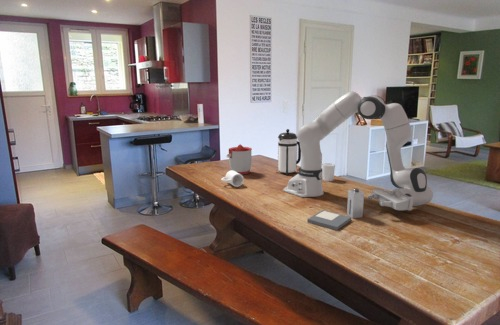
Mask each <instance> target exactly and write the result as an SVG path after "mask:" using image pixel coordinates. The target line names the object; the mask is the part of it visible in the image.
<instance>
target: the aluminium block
mask: <svg viewBox="0 0 500 325" xmlns="http://www.w3.org/2000/svg"><path fill="white" fill-rule="evenodd" d="M364 198H365V191H363V190H361V189H360V188H353V189H352V188H351V189H348V190H347V206H346V208H347V209H346V216H349V217H351V219H359V218H363V216H364V214H363V213H364V202H365V200H364Z"/></svg>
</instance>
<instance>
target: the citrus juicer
mask: <svg viewBox="0 0 500 325" xmlns="http://www.w3.org/2000/svg"><path fill="white" fill-rule="evenodd" d="M252 149H253V148H252V147H248V146H243V145H242V144H241V143H239V144H238V145H237V146H233V147H229V148H228V154H227V155H226V158H227V159H229V160H228V161H229V162H228V164H229V167H230V171H231V170H234V171H236V172H237V173H239V174H241V175H242V176H244V175H248V174H249V173H250V171H251V167H252V163H253V162H252V158H253V157H252V156H253V155H252Z"/></svg>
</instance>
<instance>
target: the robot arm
mask: <svg viewBox="0 0 500 325" xmlns="http://www.w3.org/2000/svg"><path fill="white" fill-rule="evenodd" d="M357 113H358V115H359V116H360V117H361V118H363V119H365V120H380V121H381V122H382V125H383V128H384V131H385V136H386V145H385V147H386V154H387V157H388V164H389V168H390V178H389V179H390V182H391V184H392V185H393V186H394V189H392V191H390V190H387V189H384V188H383V189H379V188H378V189H376V188H375V189H372V190H371V194H368V195H367V199H368V200H373V199H375V200H377V201H378V202H379V206H381V207H390V208H391V209H394V210H396V211H413V207H414V206H415V207H416V206H422V205H427V204H429V203H431V201H433V199H434V191H433V188H431V187H430V185H429V184H428V177H427V173H426V171H424V169H422V168H421V167H409V168H405V166H404V163H403V160H402V152H401V150H402V148H403V146H404V145H405V144H406V143H408V142H409V141H410V139H411V137H412V127H411V124H410V121H409V118H408V115H407V113H406V111H405V109H404V108H403V105H402V104H400V103H397V102H392V103H387V104H386V102H385V100H384V99H383V98H382V96H379V95H373V94H371V95H367V96H363V97H362V96H360V95H359V93H357V92H356V91H348V92H346V93H344V94H343V95H341V96H340V97H338V98H337V99H336V100H334V101H333V102H331V104H330V105H329V106H327V107H326V108H325V109H324V110H323V111H321V112H320V114H319V115H318V116H317V117H316V118H315V119H314V120H312V121H310V122H309V123H306V124H304V125H302V126H301V127H300V128H299V130H298V131H297V134H296V136H297V141H298V142H300V148H301V159H300V165H301V166H300V167H298V168H297V170H296V172H297V173H296V174H295V175H294V176H293V177H291V178H290V179H289V180H288V182H287V186H285V187H283V192H284V193H288V194H291V195H295V196H297V197H300V198H307V197H311V198H315V197H321V196H323V195H324V194H325V193H324V189H323V182H322V181H323V180H322V164H323V163H322V162H323V154H322V150H321V144H320V143H321V141H322V140H324V139H325V138H326V137H327V136H328V135H330V134H331V132H333V131H334V130H335V129H336V128H338V127H339V126H340V125H341V124H343V123H344V122H345V121H347V120H348V119H349V118H350V117H352V116H353V115H354V114H357Z"/></svg>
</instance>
